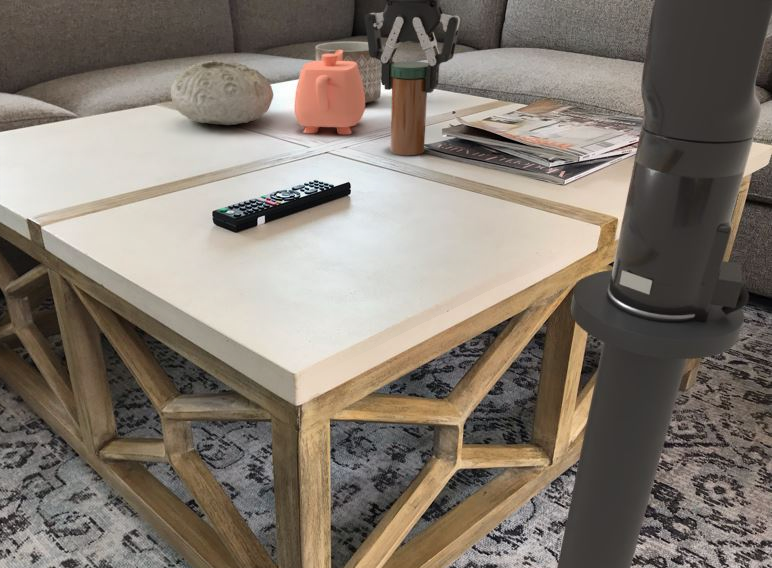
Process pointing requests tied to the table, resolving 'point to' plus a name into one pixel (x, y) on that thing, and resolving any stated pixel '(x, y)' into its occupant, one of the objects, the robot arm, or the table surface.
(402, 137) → the jar
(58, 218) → the table surface
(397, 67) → the lid
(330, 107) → the teapot
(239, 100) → the grey rounded lump
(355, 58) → the planter
